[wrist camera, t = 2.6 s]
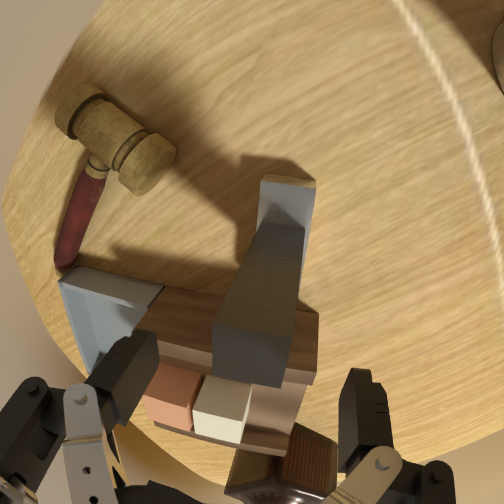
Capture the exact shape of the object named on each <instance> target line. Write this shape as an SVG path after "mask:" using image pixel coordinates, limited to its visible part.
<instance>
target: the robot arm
mask: <svg viewBox="0 0 504 504" xmlns="http://www.w3.org/2000/svg"><path fill="white" fill-rule="evenodd" d="M492 56H493V63H494V68H495V71H496V75H497V78H498V80H499V83H500V85H501V88H502V90H503V92H504V21H503V23H501V24H500V25H499V26H498V27H497V29H496V31H495V33H494V37H493V42H492ZM159 361H160V356H159V350H158V343H157V336H156V333H155V332H154V331H150V330H147V329H143V328H139V327H138V328H136V329H135V331H134V332H133V333H132V335H131V336H130V337H127V336H124V337H122V338H121V339H119V340H118V341H116V342H115V343H114V344H113V346H112V347H111V348H110V349H109V352H107V353H106V355H105V356H104V359H102V360H101V361H100V362H99V364H98V365H97V366H96V368H95V369H94V370H93V372H92V373H91V374H90V376H89V377H88V378H87V380H86V381H85V382H84V383H78V384H74V385H72V386H70V387H69V388H68V389H67V390H65V389H57V388H50V387H48V385H47V383H46V382H45V380H43V379H42V378H40V377H30V378H28V379H26V380H25V381H23V382H22V384H21V385H20V386H19V387H18V389H17V390H16V391H15V392H14V394H13V395H12V397H11V398H10V399H9V401H8V402H7V403H6V405H5V406H4V407H3V409H2V410H1V412H0V504H38V500H37V497H36V495H35V493H36V491H37V489H38V487H39V485H40V483H41V481H42V480H43V478H44V476H45V474H46V472H47V470H48V468H49V466H50V464H51V463H52V461H53V459H54V457H55V455H56V453H57V452H58V450H59V448H60V446H61V444H62V443H63V454H64V461H65V467H66V473H67V479H68V484H69V490H70V495H71V499H72V503H73V504H204V503H201V502H199V501H197V500H195V499H193V498H192V497H190V496H188V495H186V494H184V493H182V492H181V491H179V490H177V489H174V488H171V487H168V486H165V485H162V484H159V483H156V482H153V481H151V480H149V481H148V484H147V485H130V483H129V480H128V477H127V475H126V473H125V471H124V468H123V465H122V462H121V458H120V454H119V451H118V447H117V443H116V439H115V435H114V431H113V428H114V427H115V425H116V423H117V424H120V425H122V426H126V424H127V422H128V421H129V419H130V417H131V415H132V413H133V412H134V410H135V408H136V406H137V405H138V403H139V401H140V399H141V397H142V396H143V394H144V392H145V390H146V389H147V387H148V385H149V383H150V382H151V380H152V378H153V376H154V375H155V373H156V371H157V369H158V366H159ZM66 436H67V440H66V441H64V439H65V437H66ZM338 473H346V479H345V480H344V481H343V482H342V483H341V484H340V485H339V486H338V487H337V488H336V489H335V490H334V491H333V492H332V493H331V494H330V495H329V496H328V497H327V498H326V499H325V500H324V501H323V502H322V503H320V504H456V497H455V486H454V476H453V471H452V469H451V467H450V466H449V465H447V463H445V462H443V461H439V460H438V461H437V460H435V461H431V462H429V463H428V464H426V465H425V466H423V465H419V464H415V463H411V462H408V461H406V460H404V459H402V458H401V455H400V454H399V453H398V452H397V451H396V450H395V449H394V445H393V438H392V429H391V421H390V414H389V407H388V400H387V394H386V392H385V390H384V388H383V387H382V385H381V384H380V383H373V382H372V375H371V371H370V369H360V368H351V370H350V372H349V374H348V377H347V379H346V381H345V384H344V386H343V388H342V391H341V394H340V398H339V435H338Z"/></svg>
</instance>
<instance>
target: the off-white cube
mask: <svg viewBox="0 0 504 504" xmlns="http://www.w3.org/2000/svg"><path fill="white" fill-rule="evenodd" d="M251 391H252V385H251V384H246V383H241V382H237V381H232V380H227V379H223V378H218V377H214V376H210V375H207V376H206V378H205V381H204V383H203V385H202V388H201V390H200V393H199V395H198V397H197V400H196V402H195V405H194V407H193V409H192V411H193V420H194V428H195V433H196V434H199V435H203V436H207V437H211V438H215V439H219V440H223V441H228V442H232V443H237V444H240V441H241V437H242V434H243V430H244V426H245V422H246V419H247V415H248V411H249V405H250V398H251Z"/></svg>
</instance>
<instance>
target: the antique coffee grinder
mask: <svg viewBox="0 0 504 504" xmlns="http://www.w3.org/2000/svg"><path fill="white" fill-rule="evenodd" d="M337 457H338V444H337V443H335V442H334V441H333V440H331V439H329V438H327V437H325V436H323V435H321V434H319V433H317V432H315V431H313V430H311V429H309V428H306V427H304V426H302V425H300V424H297V423H295V422H294V425H293V427H292V430H291V433H290V436H289V442H288V449H287V452H286V455H285V457H283V456H276V455H270V454H264V453H258V452H253V451H247V450H242V449H238V448H237V449H236V453H235V456H234V459H233V463H232V466H231V470H230V473H229V477H228V480H227V484H226V487H225V490H224V494H225V495H228V496H231V497H233V498H236V499H238V500H241V501H242V502H243V503H244V504H320V503H322V502H323V501H324V500H325V499H326V498H327V497H328V496H329V495H330V494H331V493H332V492H333V491H334V490H335V489H336V484H337Z"/></svg>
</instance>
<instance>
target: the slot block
mask: <svg viewBox="0 0 504 504" xmlns="http://www.w3.org/2000/svg"><path fill="white" fill-rule="evenodd" d="M224 298H225V297H220V296H214V295H209V294H204V293H199V292H194V291H189V290H184V289H180V288H175V287H170V286H166V287H165V289H164V290H163V291H162V292H161V294H160V295H159V296H158V298H157V299H156V300H155V301H154V303H153V304H152V305H151V307H150V308H149V309H148V310H147V312H146V313H145V314H144V316H143V317H142V318H141V320H140V321H139V322H138V324H137V325H136V326H135V328H134V329H133V330H132V332H131V335H132V333H133V332H134V331H135V329H136V328H138V327H139V328H143V329H147V330H150V331H154V332H155V333H156V336H157V343H158V350H159V356H160V361H159V362H161V363H164V364H167V365H171V366H175V367H178V368H182V369H186V370H190V371H194V372H198V373H201V375H202V385H203V383H204V381H205V378H206V376H207V375H210V376H214V375H212V323H213V321H214V319H215V317H216V315H217V313H218V311H219V308H220V306H221V304H222V302H223V300H224ZM318 327H319V314H318V313H311V312H305V311H299V310H296V317H295V324H294V332H293V339H292V343H291V348H290V352H289V356H288V361H287V365H286V369H285V374H284V378H283V382H282V386H281V389H279V388H273V387H267V386H262V385H257V384H251V383H246V382H241V381H237V380H232V379H227V378H223V377H218V376H214V377H218V378H223V379H227V380H232V381H237V382H241V383H246V384H251V385H252V391H251V398H250V405H249V411H248V415H247V419H246V422H245V426H244V430H243V434H242V437H241V441H240V444H237V443H232V442H228V441H223V440H219V439H215V438H211V437H207V436H203V435H199V434H196V433H195V428H194V422H193V425H192V427H191V430H190V432H189V431H185V430H182V429H178V428H175V427H172V426H169V425H165V424H162V423H159V422H156V421H154V425H155V426H157V427H160V428H163V429H166V430H169V431H172V432H176V433H179V434H182V435H186V436H189V437H193V438H196V439H200V440H204V441H208V442H212V443H216V444H220V445H224V446H228V447H233V448H238V449H242V450H247V451H253V452H258V453H264V454H270V455H276V456H283V457H285V455H286V452H287V449H288V442H289V436H290V433H291V430H292V427H293V425H294V422H295V419H296V416H297V414H298V411H299V408H300V405H301V402H302V399H303V396H304V393H305V391H306V388H307V385H310V386H312V384H313V381H314V379H315V376H316V373H317V353H318Z"/></svg>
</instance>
